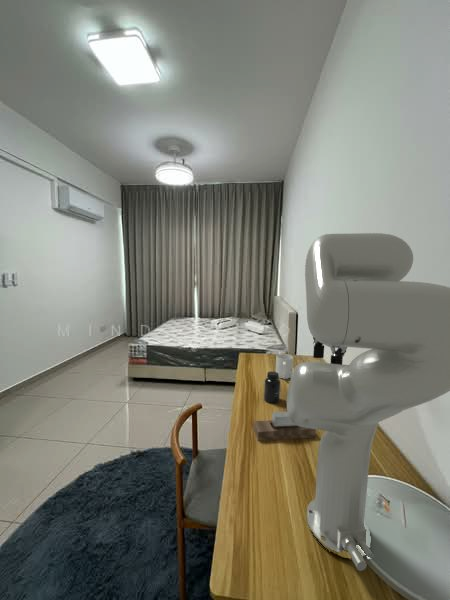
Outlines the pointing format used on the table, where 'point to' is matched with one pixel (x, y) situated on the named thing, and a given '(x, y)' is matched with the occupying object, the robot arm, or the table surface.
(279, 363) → the mug
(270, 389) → the supplement bottle
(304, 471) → the table surface
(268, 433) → the rail
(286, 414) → the grey boxy piece
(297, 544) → the table surface
